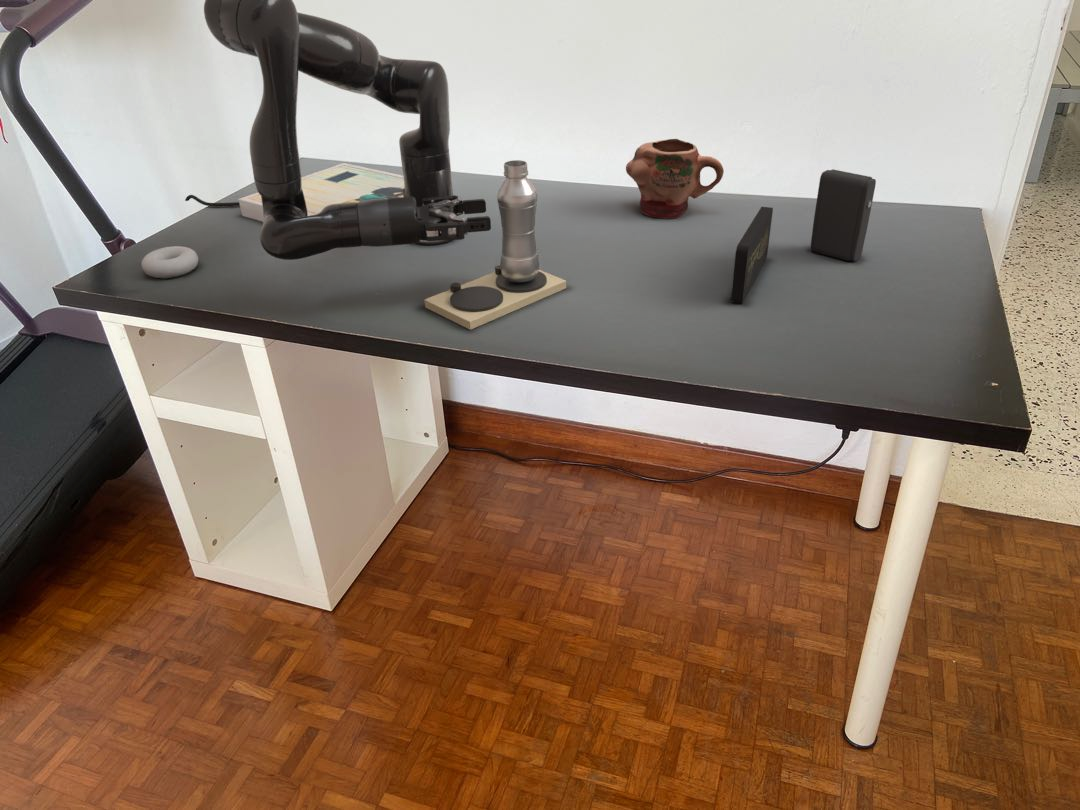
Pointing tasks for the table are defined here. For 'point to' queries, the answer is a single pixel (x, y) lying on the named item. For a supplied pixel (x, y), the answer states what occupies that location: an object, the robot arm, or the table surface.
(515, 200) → the silver bottle
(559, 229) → the table surface
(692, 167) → the animal head mug
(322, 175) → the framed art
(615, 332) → the table surface
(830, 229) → the dark grey upright block
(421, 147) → the robot arm
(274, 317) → the table surface
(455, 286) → the hob
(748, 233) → the nameplate
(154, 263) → the donut
